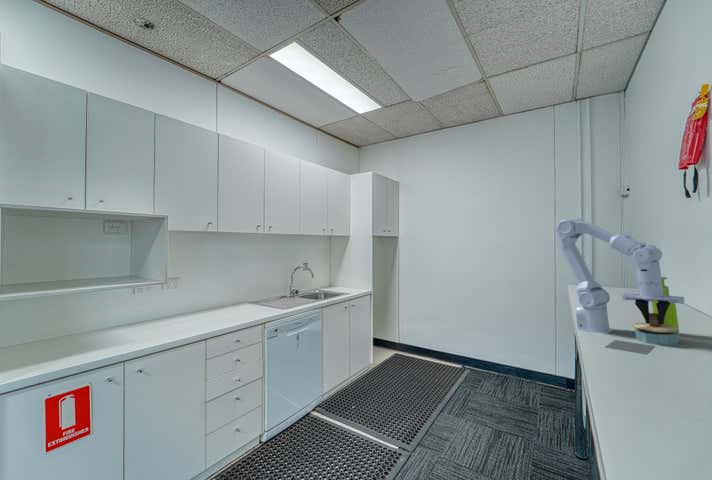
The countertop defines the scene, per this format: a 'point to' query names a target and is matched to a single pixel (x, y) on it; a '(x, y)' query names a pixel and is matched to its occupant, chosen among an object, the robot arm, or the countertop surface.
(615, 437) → the countertop surface
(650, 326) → the lid
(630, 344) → the mat
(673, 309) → the soap dispenser
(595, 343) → the countertop surface
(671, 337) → the bowl
